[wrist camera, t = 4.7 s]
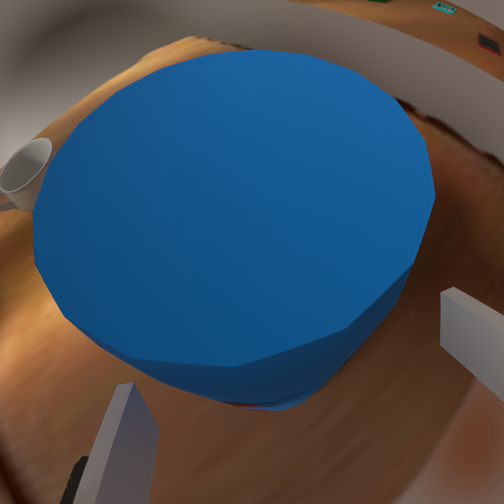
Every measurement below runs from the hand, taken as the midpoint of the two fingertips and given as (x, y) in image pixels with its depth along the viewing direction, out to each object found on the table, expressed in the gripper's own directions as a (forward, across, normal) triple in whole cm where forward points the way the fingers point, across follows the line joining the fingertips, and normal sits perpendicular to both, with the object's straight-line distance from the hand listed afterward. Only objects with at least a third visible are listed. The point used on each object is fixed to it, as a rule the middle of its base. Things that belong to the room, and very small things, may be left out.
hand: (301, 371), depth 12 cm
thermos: (+16, -1, -9) cm, 18 cm away
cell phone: (+59, +90, +34) cm, 113 cm away
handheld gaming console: (+83, +100, +58) cm, 142 cm away
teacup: (+38, -30, +13) cm, 50 cm away
